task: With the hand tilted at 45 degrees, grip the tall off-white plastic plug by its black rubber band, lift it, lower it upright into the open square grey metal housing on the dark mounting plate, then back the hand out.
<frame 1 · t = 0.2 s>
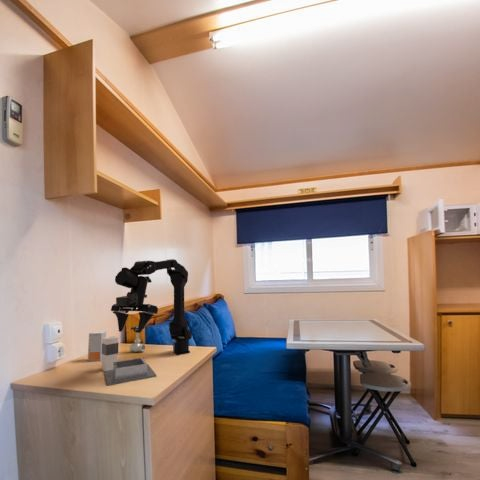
hand: (129, 332, 107), 15 cm above the table, tool tilted 15°, fingers open, 9 cm apart
plug: (109, 369, 113), on the table
housing: (129, 374, 105), on the table
skincare box: (96, 360, 127), on the table
valve: (137, 352, 139), on the table
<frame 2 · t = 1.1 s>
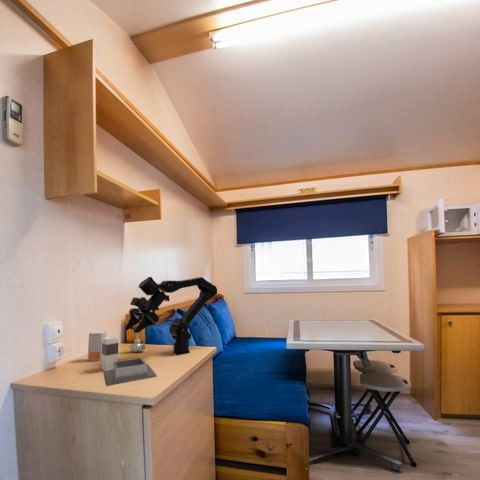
hand: (129, 331, 120), 13 cm above the table, tool tilted 45°, fingers open, 9 cm apart
nothing on the table moved.
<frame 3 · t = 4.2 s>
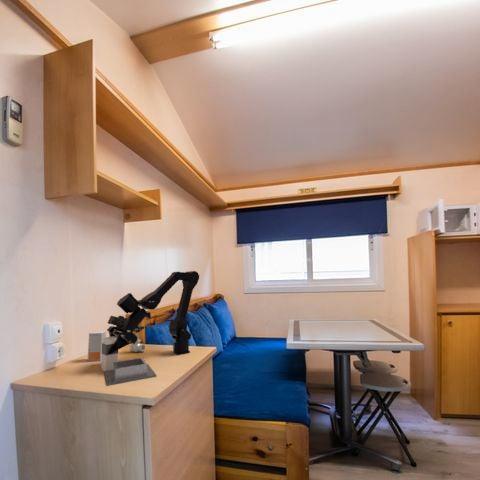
hand: (106, 352, 113), 7 cm above the table, tool tilted 45°, fingers closed on plug, 5 cm apart
plug: (109, 369, 113), on the table, touching gripper
everything else where it was.
when the fingers open (9 cm above the table, at t = 9.8 s): plug drops 1 cm, resting on housing.
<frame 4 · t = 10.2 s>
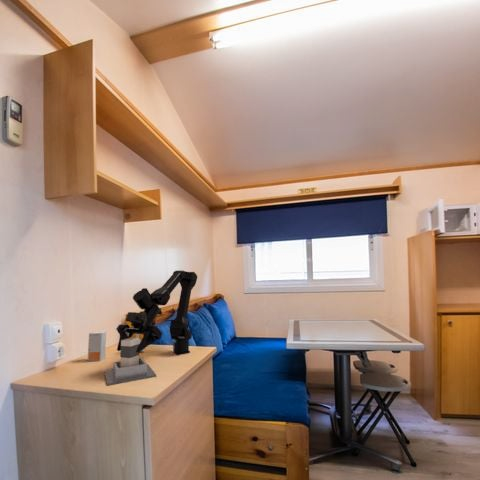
hand: (127, 351, 105), 9 cm above the table, tool tilted 45°, fingers open, 9 cm apart
plug: (129, 372, 105), point 1 cm above the table, touching housing
everything else where it was.
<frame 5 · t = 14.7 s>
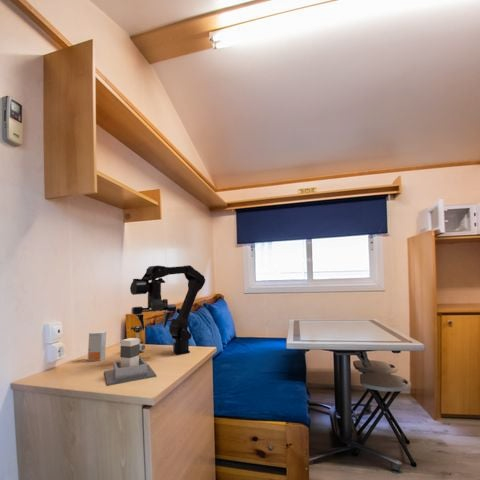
hand: (154, 329, 126), 13 cm above the table, tool pointing down, fingers open, 9 cm apart
nothing on the table moved.
at the end: plug 0.0 cm off-centre on the housing, point 0.6 cm above the housing's base; plug tilted 0°; the gripper is holding nothing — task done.
